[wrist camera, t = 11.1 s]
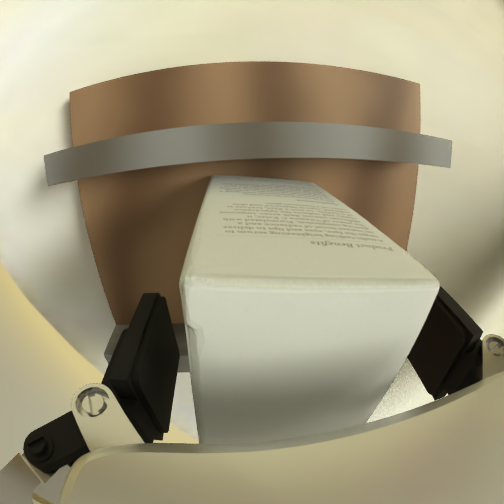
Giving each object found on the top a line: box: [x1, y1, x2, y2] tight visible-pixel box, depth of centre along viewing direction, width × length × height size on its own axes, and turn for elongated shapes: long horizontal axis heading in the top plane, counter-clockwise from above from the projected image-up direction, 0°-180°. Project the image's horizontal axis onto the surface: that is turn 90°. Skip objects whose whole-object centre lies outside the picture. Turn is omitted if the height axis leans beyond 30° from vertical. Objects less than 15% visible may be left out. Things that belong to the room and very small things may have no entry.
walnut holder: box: [44, 62, 452, 372], centre depth 15 cm, size 20×20×4 cm
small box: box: [179, 175, 440, 444], centre depth 11 cm, size 8×6×10 cm
